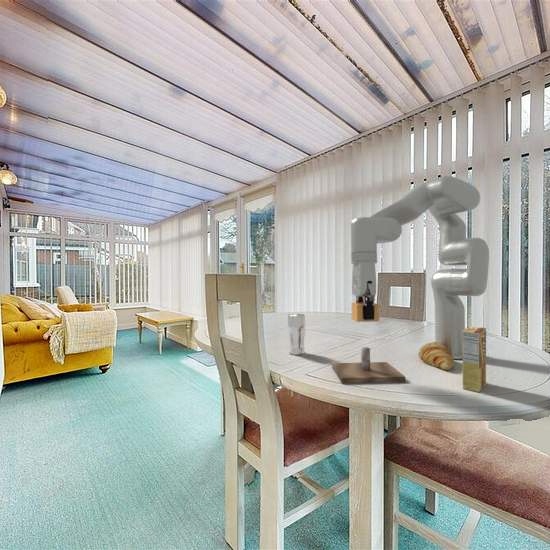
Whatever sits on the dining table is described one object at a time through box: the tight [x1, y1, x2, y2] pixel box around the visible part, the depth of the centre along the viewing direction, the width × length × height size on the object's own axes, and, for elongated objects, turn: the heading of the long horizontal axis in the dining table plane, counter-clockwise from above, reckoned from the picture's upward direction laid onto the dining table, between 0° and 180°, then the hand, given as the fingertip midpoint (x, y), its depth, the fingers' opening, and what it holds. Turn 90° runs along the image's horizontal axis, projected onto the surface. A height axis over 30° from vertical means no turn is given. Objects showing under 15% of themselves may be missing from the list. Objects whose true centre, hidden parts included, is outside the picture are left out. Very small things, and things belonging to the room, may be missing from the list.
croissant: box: [418, 341, 455, 371], centre depth 102 cm, size 21×10×8 cm, turn 173°
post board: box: [331, 346, 406, 384], centre depth 91 cm, size 18×14×8 cm
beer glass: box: [287, 313, 306, 356], centre depth 117 cm, size 7×7×15 cm
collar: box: [351, 302, 380, 323], centre depth 91 cm, size 6×6×5 cm
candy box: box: [462, 326, 487, 393], centre depth 81 cm, size 9×4×15 cm, turn 137°
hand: (364, 317), depth 91 cm, fingers closed on collar, 6 cm apart
